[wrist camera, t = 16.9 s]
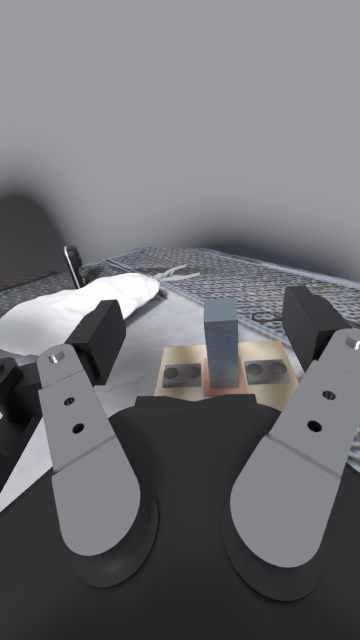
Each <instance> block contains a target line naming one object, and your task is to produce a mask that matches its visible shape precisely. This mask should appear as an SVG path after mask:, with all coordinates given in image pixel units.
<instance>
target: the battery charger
mask: <svg viewBox="0 0 360 640" xmlns="http://www.w3.org/2000/svg"><path fill="white" fill-rule="evenodd" d="M62 252H63V255H64V258H65V261H66V263H67V266H68V269H69V271H70V274H71V276H72V279H73V282H74V284H75V287H76V289H80V288H83V287H85V286H86V285H87V282H86V279H84V278H83V277H82V276H81V275H80V274H79V272H78V270H79V269H78V267H81V266H82V260H81V257H80V255H79V252H78V250H77V248H76V247H75V246H68V247H64V248H63V251H62Z"/></svg>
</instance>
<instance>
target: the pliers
mask: <svg viewBox="0 0 360 640" xmlns="http://www.w3.org/2000/svg"><path fill="white" fill-rule="evenodd" d="M183 267H186V265H183V266H179V267H176V268H173V269H170V270H168V271H166V272H165V273H159V274H156V276H154V278H153V277H152V276H149V278H152V279H155V280H157V281H168V280H182V279H187V278H191V277H194V276H197V275H200V273H196V274H192V275H187V276H179V275H174V276H171V275H172V274H173V273H174V271H175V270H177V269H180V268H183ZM171 272H172V273H171ZM170 273H171V274H170ZM168 274H169V275H170V276H171V277H168V278H163V277H166V276H167V275H168Z"/></svg>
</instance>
